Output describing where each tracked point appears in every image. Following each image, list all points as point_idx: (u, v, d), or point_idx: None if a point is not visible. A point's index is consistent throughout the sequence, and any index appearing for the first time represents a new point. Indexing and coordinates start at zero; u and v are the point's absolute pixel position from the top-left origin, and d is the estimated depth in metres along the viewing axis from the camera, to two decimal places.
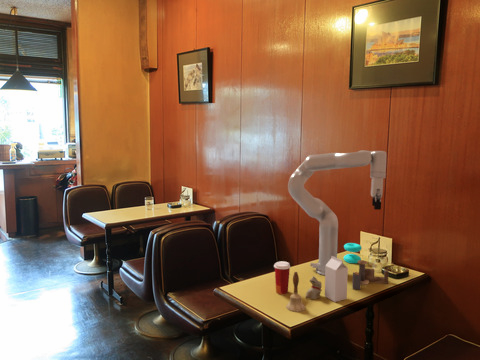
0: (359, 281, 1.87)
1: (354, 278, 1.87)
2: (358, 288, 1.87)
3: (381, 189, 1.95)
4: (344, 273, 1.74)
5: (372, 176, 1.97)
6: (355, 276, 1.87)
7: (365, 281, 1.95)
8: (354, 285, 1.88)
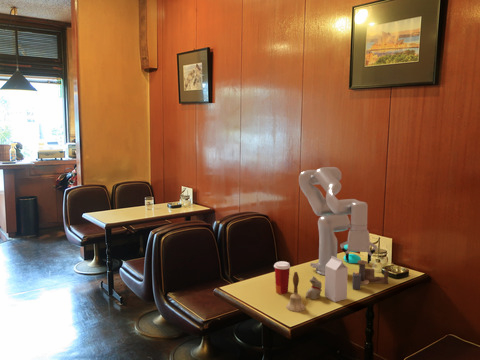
0: (359, 281, 1.87)
1: (354, 278, 1.87)
2: (358, 288, 1.87)
3: None
4: (344, 273, 1.74)
5: (364, 230, 1.82)
6: (355, 276, 1.87)
7: (365, 281, 1.95)
8: (354, 285, 1.88)
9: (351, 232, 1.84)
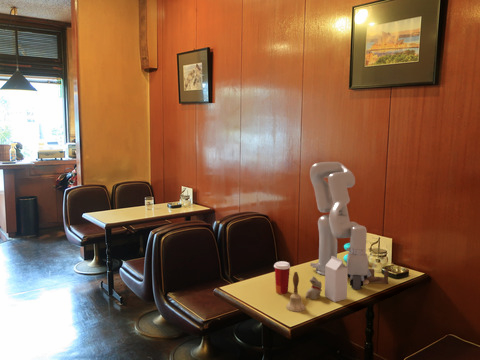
0: (359, 281, 1.87)
1: (354, 278, 1.87)
2: (358, 288, 1.87)
3: None
4: (344, 273, 1.74)
5: (363, 254, 1.84)
6: (355, 276, 1.87)
7: (365, 281, 1.95)
8: (354, 285, 1.87)
9: (350, 256, 1.86)
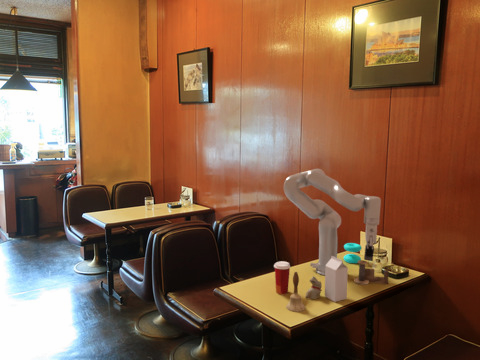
0: None
1: (373, 250, 1.98)
2: None
3: None
4: (344, 273, 1.74)
5: None
6: (373, 248, 1.98)
7: (365, 281, 1.95)
8: (372, 257, 1.98)
9: (376, 226, 1.94)
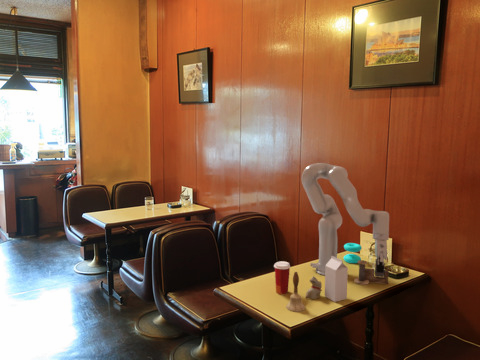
0: None
1: (384, 266, 1.95)
2: None
3: None
4: (344, 273, 1.74)
5: None
6: (384, 263, 1.95)
7: (365, 281, 1.95)
8: None
9: (386, 241, 1.91)
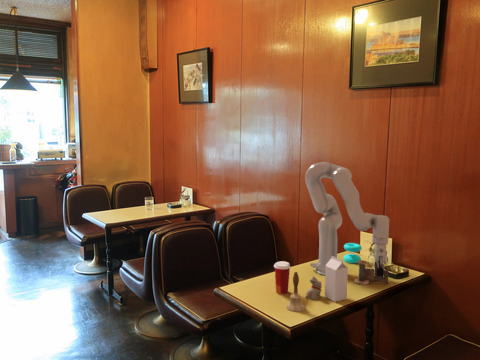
0: None
1: None
2: None
3: None
4: (344, 273, 1.74)
5: None
6: None
7: (365, 281, 1.95)
8: None
9: None
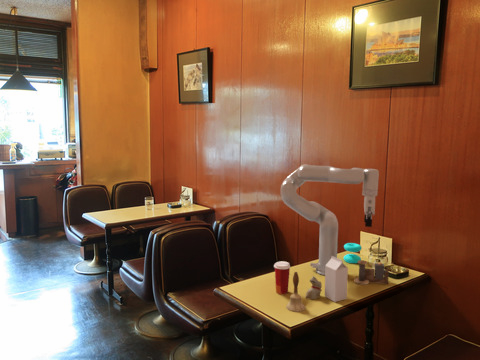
0: None
1: (383, 268, 1.95)
2: None
3: None
4: (344, 273, 1.74)
5: None
6: (383, 266, 1.95)
7: (365, 281, 1.95)
8: (383, 275, 1.95)
9: (374, 197, 1.98)
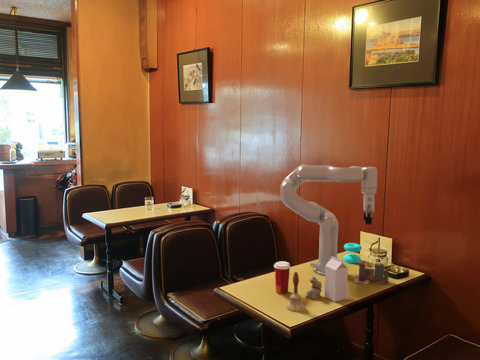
0: None
1: (383, 268, 1.95)
2: None
3: None
4: (344, 273, 1.74)
5: None
6: (383, 266, 1.95)
7: (365, 281, 1.95)
8: (383, 275, 1.95)
9: None
